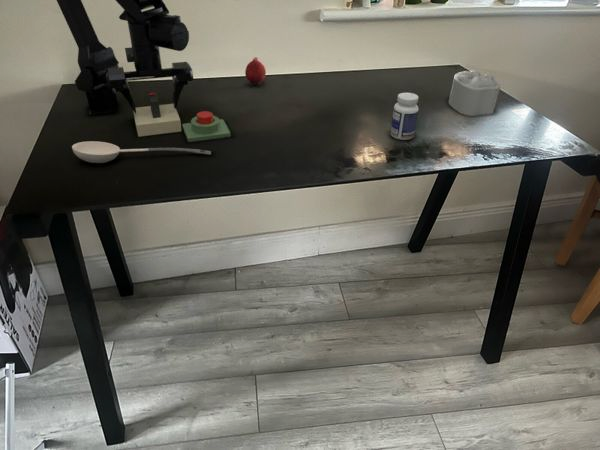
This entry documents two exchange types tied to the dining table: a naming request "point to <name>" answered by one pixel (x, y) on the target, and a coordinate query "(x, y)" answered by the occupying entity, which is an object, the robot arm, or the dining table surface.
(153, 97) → the hob knob
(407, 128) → the pill bottle
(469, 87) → the lumpy-topped squat cylinder
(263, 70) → the onion
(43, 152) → the dining table surface
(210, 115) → the button
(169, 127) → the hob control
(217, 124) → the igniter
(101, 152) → the ladle
